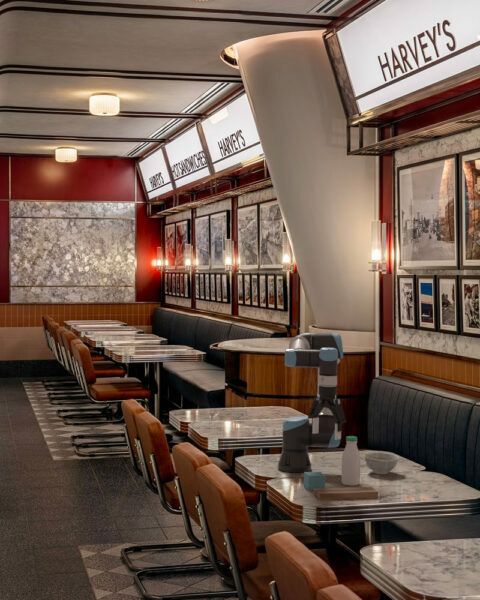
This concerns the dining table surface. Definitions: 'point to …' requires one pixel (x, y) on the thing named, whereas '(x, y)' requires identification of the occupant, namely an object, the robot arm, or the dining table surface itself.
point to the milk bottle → (351, 463)
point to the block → (314, 480)
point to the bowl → (381, 462)
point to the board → (345, 493)
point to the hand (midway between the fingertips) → (326, 436)
